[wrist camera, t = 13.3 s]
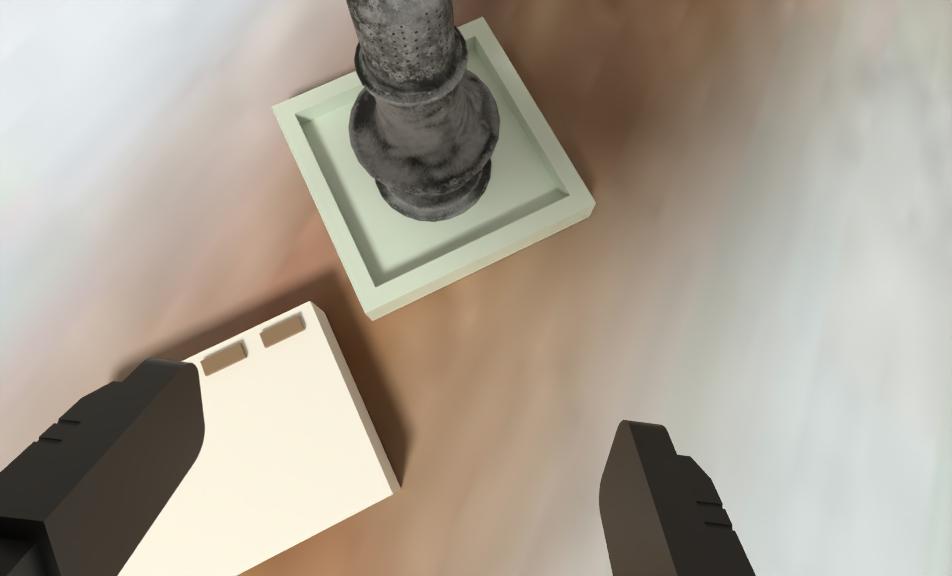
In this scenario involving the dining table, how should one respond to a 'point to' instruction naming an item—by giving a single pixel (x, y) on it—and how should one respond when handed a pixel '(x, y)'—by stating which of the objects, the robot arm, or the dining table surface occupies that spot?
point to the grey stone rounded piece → (420, 109)
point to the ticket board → (268, 453)
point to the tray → (442, 242)
